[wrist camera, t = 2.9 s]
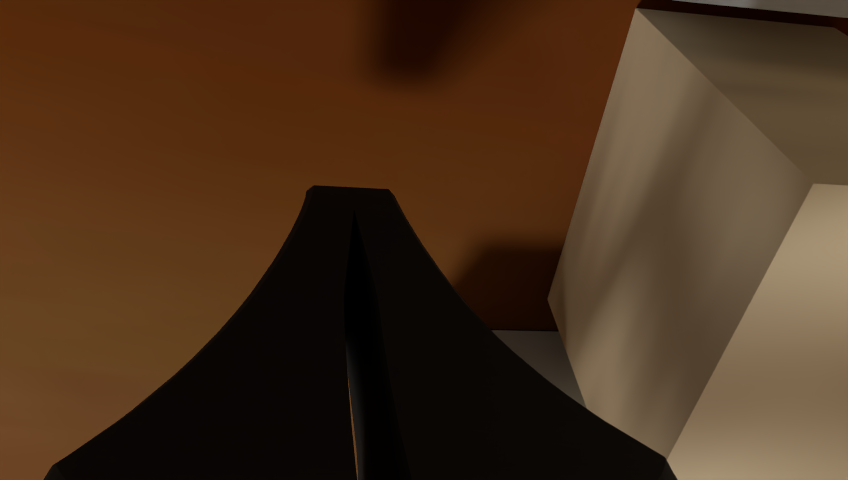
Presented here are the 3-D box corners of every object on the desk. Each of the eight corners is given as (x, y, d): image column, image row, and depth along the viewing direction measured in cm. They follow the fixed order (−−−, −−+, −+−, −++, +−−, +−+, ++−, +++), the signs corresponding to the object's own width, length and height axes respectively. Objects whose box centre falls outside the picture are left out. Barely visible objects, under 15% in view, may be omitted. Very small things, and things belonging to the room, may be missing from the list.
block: (700, 301, 18) (839, 523, 13) (546, 297, 17) (630, 528, 12) (832, 26, 13) (1107, 200, 9) (634, 7, 13) (814, 182, 8)
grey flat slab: (776, 368, 19) (834, 454, 17) (412, 363, 18) (424, 458, 15) (1044, -79, 12) (1199, -32, 10) (498, -150, 11) (539, -114, 9)
